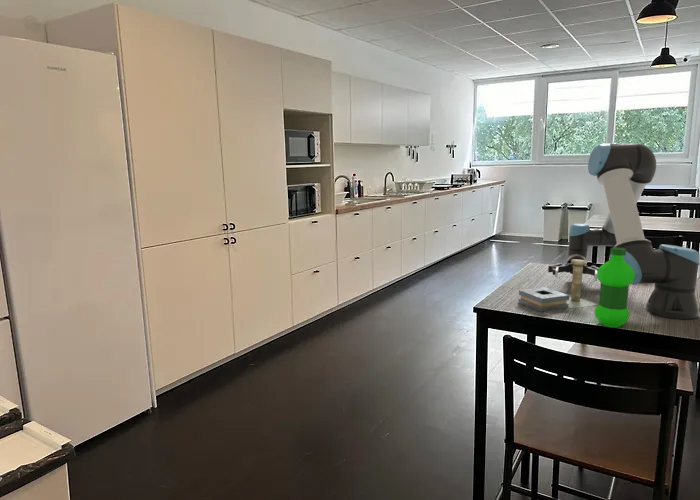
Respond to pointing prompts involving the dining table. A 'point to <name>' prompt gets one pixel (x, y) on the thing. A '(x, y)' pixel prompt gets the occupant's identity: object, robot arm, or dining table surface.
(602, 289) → the plastic bottle
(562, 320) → the dining table surface
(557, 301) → the square socket block
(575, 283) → the pin
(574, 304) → the mat
